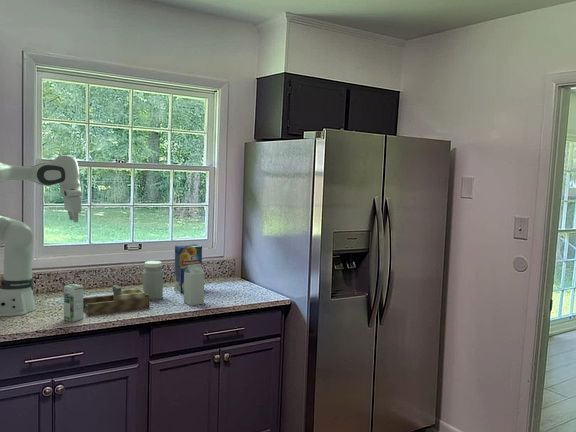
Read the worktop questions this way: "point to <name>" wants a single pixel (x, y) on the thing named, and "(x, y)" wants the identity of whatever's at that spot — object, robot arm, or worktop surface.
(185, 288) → the milk carton
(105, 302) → the bay
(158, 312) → the worktop surface
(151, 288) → the jar
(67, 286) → the syrup box
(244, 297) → the worktop surface
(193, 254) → the juice carton
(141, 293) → the drawer
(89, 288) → the worktop surface
